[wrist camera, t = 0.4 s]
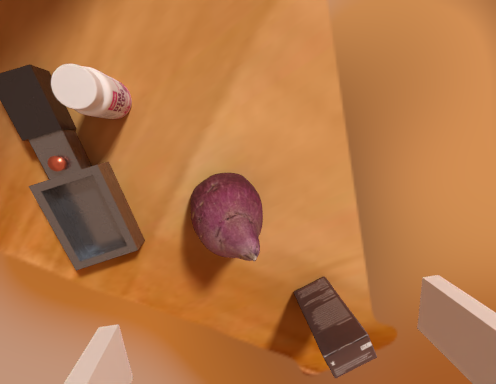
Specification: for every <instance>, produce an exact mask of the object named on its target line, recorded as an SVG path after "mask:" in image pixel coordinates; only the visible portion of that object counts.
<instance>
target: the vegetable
mask: <svg viewBox="0 0 496 384" xmlns="http://www.w3.org/2000/svg"><path fill="white" fill-rule="evenodd" d="M191 220H192V224H193V228H194V230H195V232H196V234H197V235H198V237H199V239H200V240H201V242H202V243H203V244H204V245H205V247H206V248H207V249H209V250H210V251H211V252H213V253H215V254H217V255H220V256H223V257H229V258H239V259H243V260H248V261H251V260H253V261H256V259H257V257H258V255H259V251H260V245H259V239H258V236H259V234H260V233H261V228H262V220H263V214H262V204H261V200H260V197H259V194H258V193H257V191H256V190H255V188H254V187H253V186H252V184H251V183H250V182H249V181H248V180H246V179H245V178H244V177H243V176H241V175H239V174H235V173H220V174H215V175H212V176H210V177H209V178H207V179H206V180H204V181H203V182H201V183H200V184H199V185H198V186H197V187H196V188H195V189H194V191H193V193H192V195H191Z"/></svg>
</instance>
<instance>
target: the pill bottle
mask: <svg viewBox="0 0 496 384" xmlns="http://www.w3.org/2000/svg"><path fill="white" fill-rule="evenodd" d="M51 88H52V91H53V93H54V95H55V97H56V98H57V99H58V101H59V102H60V103H62V104H63V105H65V106H66V107H69V108H71V109H74V110H76V111H77V112H79V113H81V114H84V115H88V116H94V117H100V118H107V119H119V118H122V117H124V116H125V115H126V114H127V113H128V112H129V110H130V108H131V103H132V100H131V95H130V93H129V91H128V89H127V88H126V87H125V86H124V85H123V84H122V83H120V82H119V81H117V80H115V79H113V78H111V77H109V76H107V75H105V74H103V73H102V72H100V71H98V70H96V69H93V68H90V67H84V66H79V65H76V64H64V65H62V66H60V67H58V68H57V69H56V70H55V71H54V73H53V75H52V78H51Z"/></svg>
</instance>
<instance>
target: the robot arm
mask: <svg viewBox="0 0 496 384" xmlns="http://www.w3.org/2000/svg"><path fill="white" fill-rule="evenodd" d="M418 329H419V330H420V331H421V332H422V333H423V334H424V335H425V336H426V337H427V338H428V339H429V340H430V341H431V342H432V343H433V344H434V345H435V346H436V347H437V348H438V349H439V350H440V351H441V352H442V353H443V354H444V355H445V356H446V357H447V358H448V359H449V360H450V361H451V362H452V363H453V364H454V365H455V366H456V367H457V368H458V369H459V370H460V371H461V372H462V373H463V374H464V375H465V376H466V377H467V378H468V379H469V380H470V381H471V382H472V383H473V384H496V313H495V312H494V311H492V310H491V309H489V308H488V307H486V306H485V305H483V304H481V303H480V302H479V301H477V300H476V299H474V298H473V297H471V296H470V295H468V294H466V293H465V292H463V291H462V290H460V289H459V288H457V287H455V286H454V285H453V284H451V283H450V282H448V281H447V280H445V279H444V278H442V277H441V276H439V275H436V276H429V277H423V279H422V288H421V298H420V308H419V318H418ZM132 379H133V375H132V371H131V368H130V364H129V361H128V357H127V353H126V349H125V346H124V342H123V338H122V335H121V331H120V327H119V325H111V326H105V327H99V328H98V330H97V331H96V333H95V334H94V336H93V338H92V339H91V341H90V343H89V344H88V346H87V347H86V349H85V350H84V352H83V354H82V355H81V357H80V358H79V360H78V362H77V363H76V365H75V367H74V368H73V370H72V371H71V373H70V374H69V376H68V378H67V379H66V381H65V382H64V384H131V382H132Z"/></svg>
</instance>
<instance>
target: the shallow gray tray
mask: <svg viewBox="0 0 496 384" xmlns="http://www.w3.org/2000/svg"><path fill="white" fill-rule="evenodd" d="M51 78H52V77H51V75H50V73H49V71H46V70H44V69H41V68H38V67H35V66H33V65H26V66H23V67H20V68H17V69H13V70H10V71H7V72H3V73H0V100H1V102H2V104H3V106H4V108H5V109H6V111H7V113H8V115H9V117H10V119H11V120H12V122H13V124H14V126H15V128H16V130H17V131H18V133H19V135H20V137H21V139H22V141H27V140H29V142H30V144H31V146H32V147H33V149H34V151H35V153H36V155H37V157H38V159H39V160H40V162H41V164H42V166H43V168H44V170H45V172H46V174H47V175H48V177H49V179H50V180H47V181H44V182H41V183H38V184H34V185H31V186H29V188H30V190H31V191H32V193H33V195H34V197H35V198H36V200H37V202H38V204H39V206H40V207H41V209H42V211H43V213H44V214H45V216H46V218H47V220H48V221H49V223H50V225H51V227H52V229H53V230H54V232H55V234H56V236H57V237H58V239H59V241H60V243H61V245H62V246H63V248H64V250H65V252H66V253H67V255H68V257H69V259H70V260H71V262H72V264H73V266H74V268H75V269H76V270H79V269H82V268H85V267H88V266H91V265H94V264H97V263H100V262H103V261H106V260H109V259H112V258H115V257H118V256H121V255H124V254H127V253H131V252H134V251H137V250H138V249H139V248H140V246H141V245H142V244H143V242H144V241H145V240H144V238H143V235H142V233H141V231H140V229H139V227H138V225H137V222H136V220H135V218H134V216H133V214H132V212H131V209H130V207H129V205H128V203H127V201H126V199H125V196H124V194H123V192H122V190H121V188H120V185H119V183H118V181H117V179H116V177H115V175H114V172H113V170H112V168H111V166H110V164H109V162H106V163H102V164H98V165H94V166H91V164H90V161H89V159H88V157H87V155H86V153H85V151H84V149H83V147H82V145H81V143H80V141H79V139H78V137H77V134H76V132H75V129H76V127H75V125H74V123H73V121H72V119H71V116H70V114H69V112H68V110H67V108H66V106H65V105H63V104H62V103H60V102H59V101H58V99H57V98H56V97H55V95H54V93H53V91H52V88H51Z"/></svg>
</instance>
